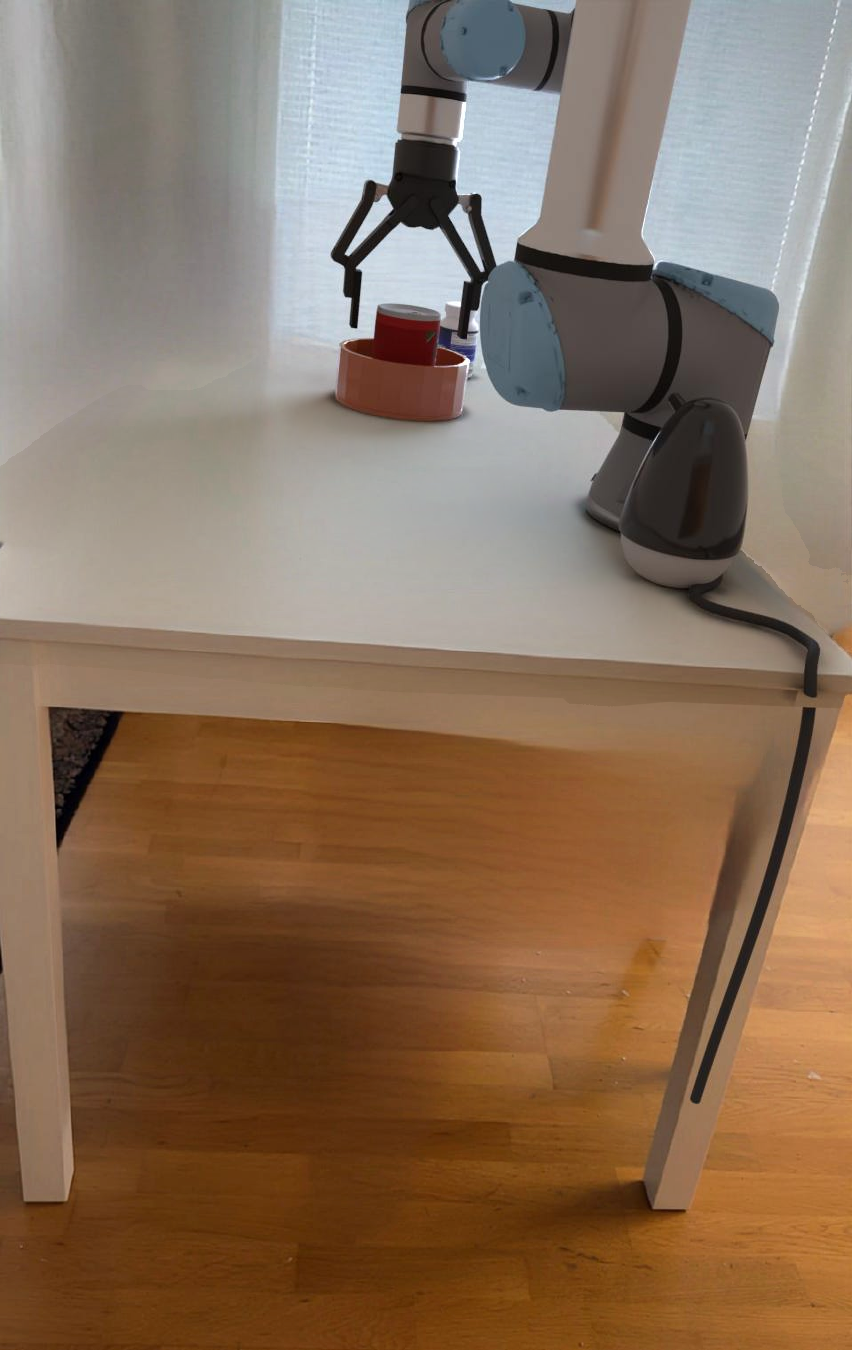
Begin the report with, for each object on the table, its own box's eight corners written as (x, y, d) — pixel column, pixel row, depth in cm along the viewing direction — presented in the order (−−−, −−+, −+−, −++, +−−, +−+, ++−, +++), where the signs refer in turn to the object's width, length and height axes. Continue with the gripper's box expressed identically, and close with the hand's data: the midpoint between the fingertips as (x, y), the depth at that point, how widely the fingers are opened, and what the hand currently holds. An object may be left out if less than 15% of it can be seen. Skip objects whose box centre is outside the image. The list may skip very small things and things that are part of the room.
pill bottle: (430, 368, 159) (438, 299, 154) (467, 372, 160) (477, 303, 156) (437, 377, 154) (446, 305, 149) (475, 380, 155) (486, 309, 151)
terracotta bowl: (472, 426, 130) (480, 372, 127) (340, 414, 127) (345, 358, 124) (449, 395, 144) (456, 345, 141) (330, 383, 141) (334, 333, 138)
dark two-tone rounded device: (684, 553, 97) (726, 384, 90) (753, 599, 88) (806, 417, 82) (586, 554, 93) (623, 379, 86) (649, 603, 85) (695, 412, 78)
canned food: (429, 410, 132) (441, 318, 127) (365, 401, 132) (375, 309, 127) (430, 396, 139) (441, 309, 134) (369, 388, 139) (378, 300, 134)
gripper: (525, 154, 128) (499, 337, 137) (317, 126, 123) (304, 317, 132) (541, 155, 121) (512, 347, 130) (322, 126, 116) (308, 327, 126)
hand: (408, 332), depth 131 cm, fingers open, 13 cm apart
